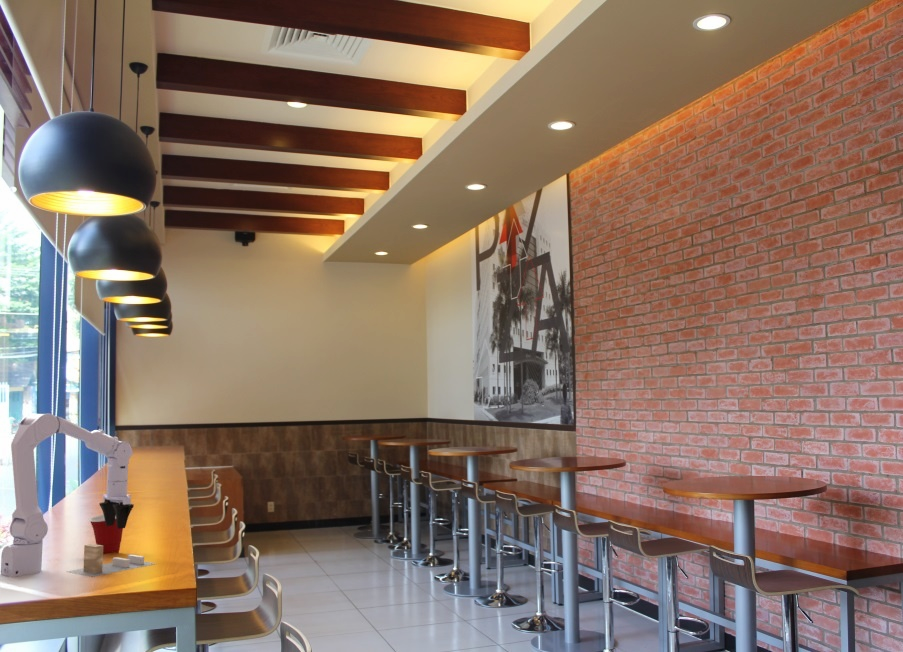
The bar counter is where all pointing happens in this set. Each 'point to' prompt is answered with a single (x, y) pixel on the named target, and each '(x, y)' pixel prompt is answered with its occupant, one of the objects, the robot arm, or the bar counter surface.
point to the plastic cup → (106, 534)
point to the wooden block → (93, 558)
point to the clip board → (117, 566)
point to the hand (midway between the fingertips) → (115, 526)
